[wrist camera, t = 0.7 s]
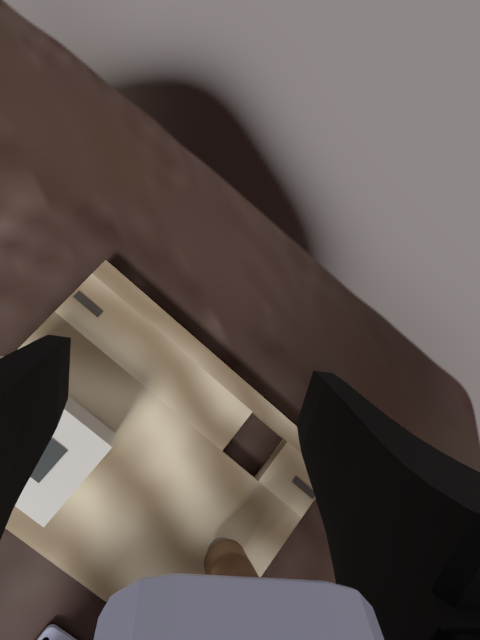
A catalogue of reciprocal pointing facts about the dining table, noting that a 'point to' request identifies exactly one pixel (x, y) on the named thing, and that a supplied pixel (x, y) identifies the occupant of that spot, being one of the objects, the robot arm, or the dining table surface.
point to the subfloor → (160, 449)
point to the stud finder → (65, 462)
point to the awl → (227, 559)
